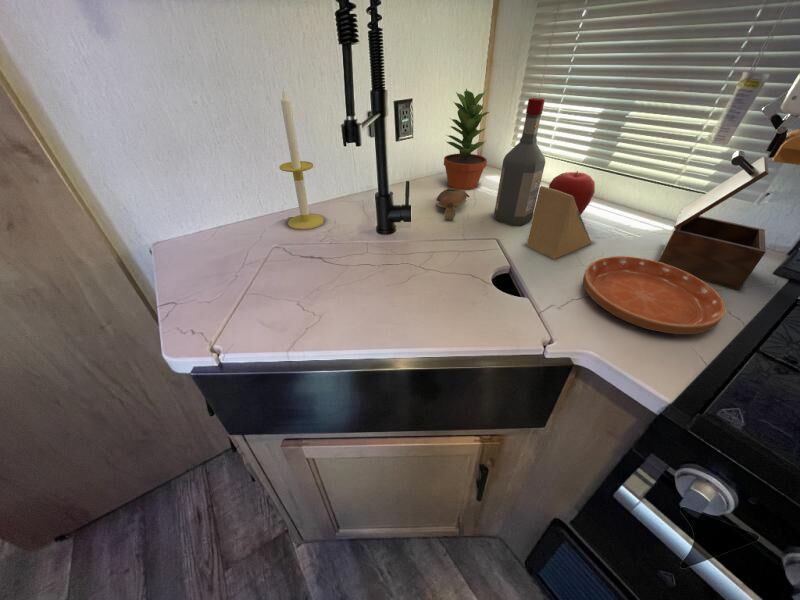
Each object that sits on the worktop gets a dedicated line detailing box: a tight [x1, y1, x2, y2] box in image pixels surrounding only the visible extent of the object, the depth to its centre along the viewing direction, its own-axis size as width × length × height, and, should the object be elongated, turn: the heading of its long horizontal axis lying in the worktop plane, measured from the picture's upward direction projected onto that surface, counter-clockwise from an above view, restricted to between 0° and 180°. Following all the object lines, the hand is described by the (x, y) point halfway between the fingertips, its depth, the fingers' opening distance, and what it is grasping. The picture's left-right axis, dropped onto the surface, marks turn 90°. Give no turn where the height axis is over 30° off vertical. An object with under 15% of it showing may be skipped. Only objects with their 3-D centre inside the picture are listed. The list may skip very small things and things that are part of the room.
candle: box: [279, 87, 325, 230], centre depth 89 cm, size 10×10×32 cm
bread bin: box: [657, 215, 767, 291], centre depth 76 cm, size 15×13×9 cm
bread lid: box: [673, 150, 769, 229], centre depth 71 cm, size 16×13×5 cm
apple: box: [548, 170, 596, 216], centre depth 97 cm, size 12×12×13 cm
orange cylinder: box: [771, 128, 800, 166], centre depth 62 cm, size 7×4×4 cm, turn 141°
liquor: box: [493, 97, 546, 227], centre depth 91 cm, size 9×9×30 cm
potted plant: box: [443, 87, 490, 191], centre depth 115 cm, size 15×15×30 cm
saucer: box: [582, 255, 726, 335], centre depth 67 cm, size 23×23×4 cm
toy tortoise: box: [435, 187, 471, 221], centre depth 105 cm, size 20×5×10 cm
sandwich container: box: [526, 185, 593, 259], centre depth 83 cm, size 9×15×15 cm, turn 123°
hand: (789, 157), depth 63 cm, fingers closed on orange cylinder, 4 cm apart
